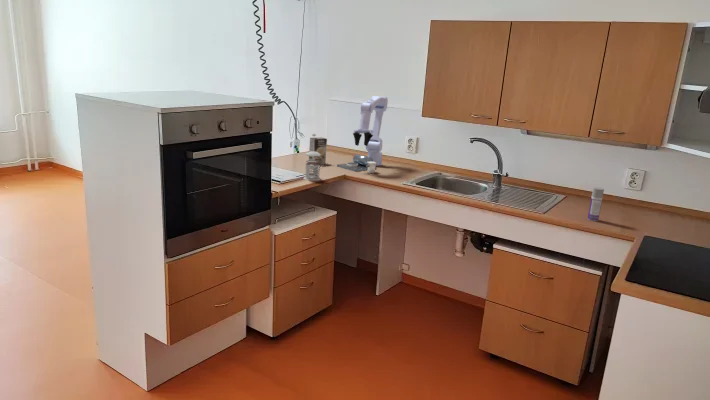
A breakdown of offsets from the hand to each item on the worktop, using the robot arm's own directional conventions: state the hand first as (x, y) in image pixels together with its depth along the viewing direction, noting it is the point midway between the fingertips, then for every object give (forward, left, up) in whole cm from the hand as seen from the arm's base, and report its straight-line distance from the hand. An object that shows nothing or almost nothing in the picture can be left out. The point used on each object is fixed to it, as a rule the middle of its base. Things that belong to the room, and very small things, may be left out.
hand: (361, 145), depth 310 cm
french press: (+36, +1, -16) cm, 40 cm away
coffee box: (+6, -33, -16) cm, 37 cm away
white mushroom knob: (-7, +3, -16) cm, 18 cm away
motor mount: (-8, -11, -16) cm, 21 cm away
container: (-28, +129, -16) cm, 133 cm away
